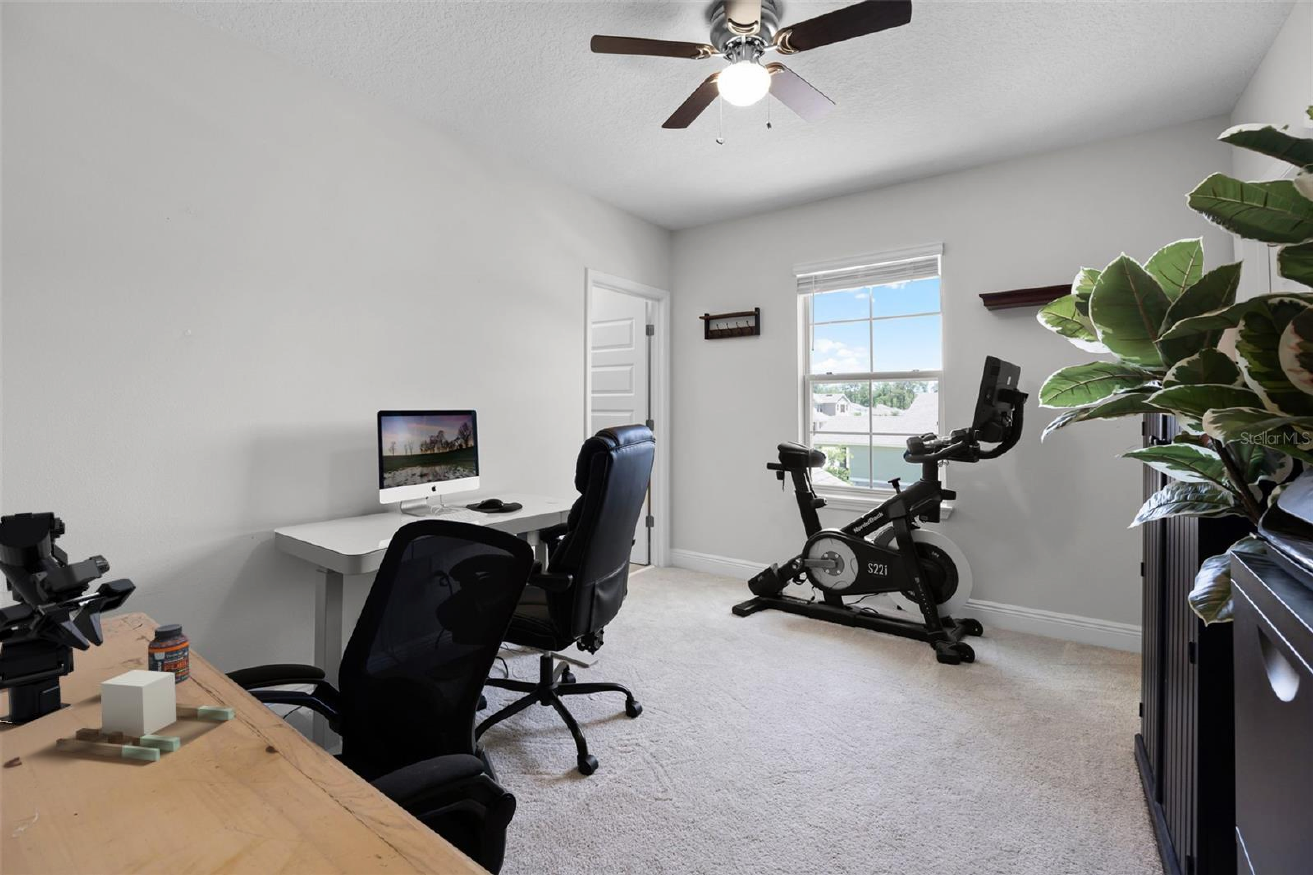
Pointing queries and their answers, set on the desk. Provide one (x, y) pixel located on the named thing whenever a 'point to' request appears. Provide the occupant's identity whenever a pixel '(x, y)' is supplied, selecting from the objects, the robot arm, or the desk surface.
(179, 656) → the supplement bottle
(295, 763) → the desk surface
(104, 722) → the block
